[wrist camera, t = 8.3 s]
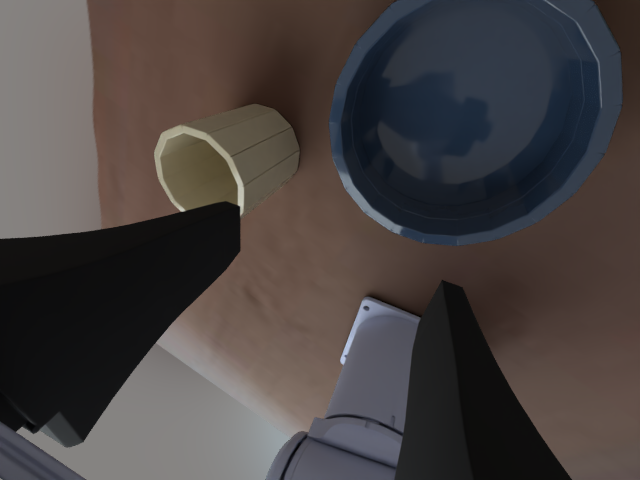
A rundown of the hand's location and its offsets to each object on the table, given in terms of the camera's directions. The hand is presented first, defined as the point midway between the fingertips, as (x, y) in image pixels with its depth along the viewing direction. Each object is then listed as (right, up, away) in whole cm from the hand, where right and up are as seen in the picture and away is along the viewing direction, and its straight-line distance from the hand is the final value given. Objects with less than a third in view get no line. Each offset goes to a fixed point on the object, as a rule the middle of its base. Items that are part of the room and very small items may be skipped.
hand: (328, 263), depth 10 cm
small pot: (-4, +7, +11) cm, 14 cm away
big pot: (+7, +7, +5) cm, 11 cm away
